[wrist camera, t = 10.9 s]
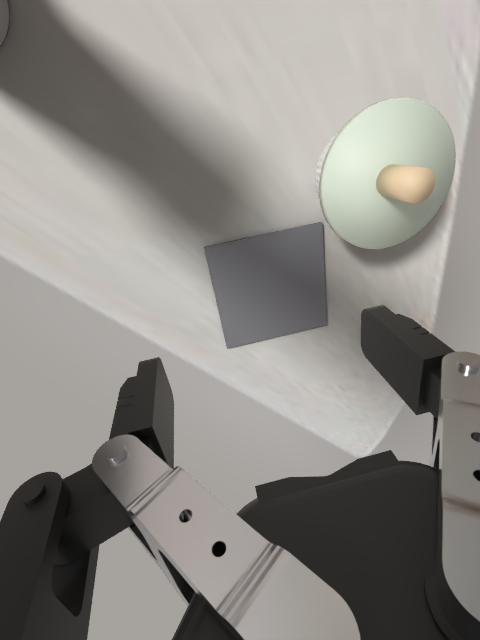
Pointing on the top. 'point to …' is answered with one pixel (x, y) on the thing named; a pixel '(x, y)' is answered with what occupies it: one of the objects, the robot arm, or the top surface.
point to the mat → (269, 284)
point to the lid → (387, 173)
